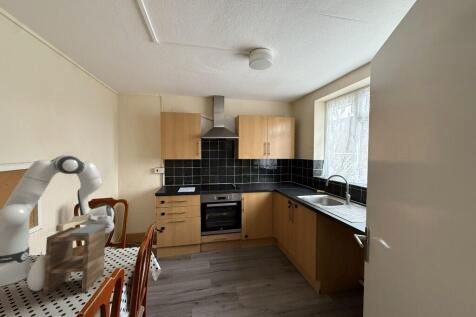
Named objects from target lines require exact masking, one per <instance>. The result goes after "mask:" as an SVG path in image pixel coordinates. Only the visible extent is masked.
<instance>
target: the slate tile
mask: <svg viewBox="0 0 476 317" xmlns="http://www.w3.org/2000/svg"><path fill="white" fill-rule="evenodd" d="M81 227H82V228H80V229H78V230H76V231H74V232H72V233H70V236H89V235H91V234H93V233H95V232H96V231H98V230H100V229H102V228H103V227H104V224H91V225H83V226H81Z"/></svg>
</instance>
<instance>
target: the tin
mask: <svg viewBox="0 0 476 317" xmlns="http://www.w3.org/2000/svg"><path fill="white" fill-rule="evenodd" d="M72 256H84V244H83V245H79V246H75V247H73V250H72Z"/></svg>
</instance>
